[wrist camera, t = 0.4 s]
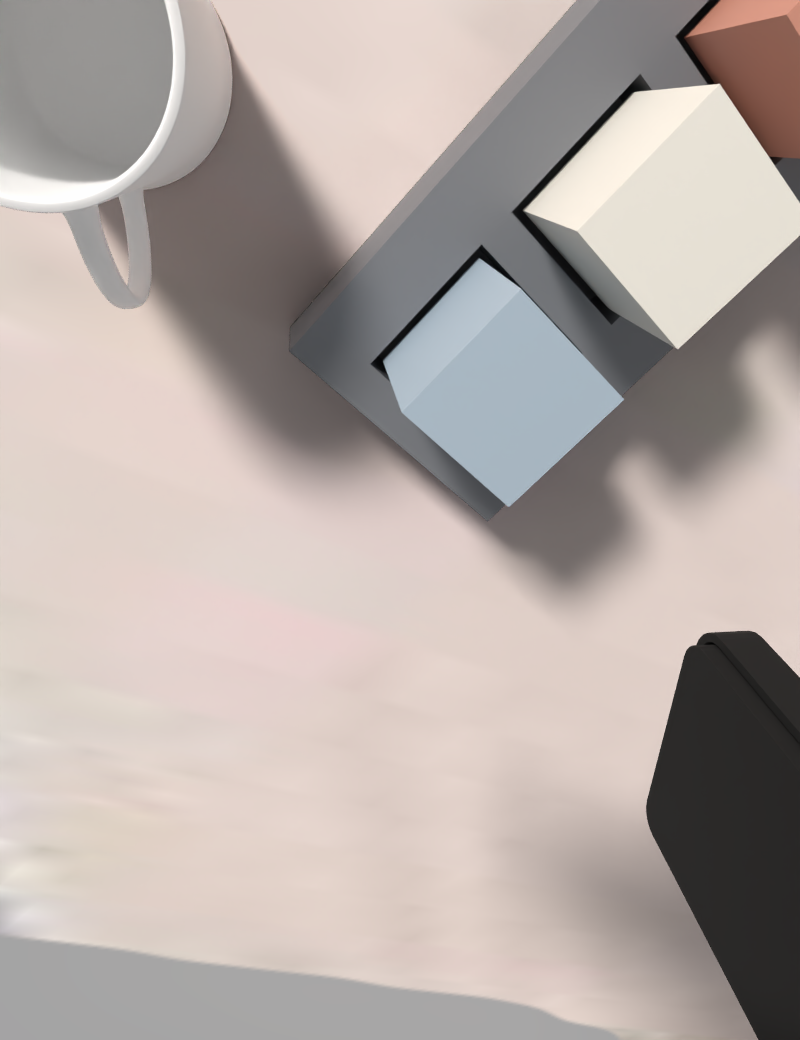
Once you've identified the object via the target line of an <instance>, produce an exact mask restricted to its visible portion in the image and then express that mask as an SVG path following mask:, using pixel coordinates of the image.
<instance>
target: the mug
mask: <svg viewBox="0 0 800 1040" xmlns="http://www.w3.org/2000/svg"><path fill="white" fill-rule="evenodd" d="M231 97H232V65H231V57H230V52H229V47H228V43H227V39H226V36H225V33H224V30H223V27H222V24H221V22H220V19H219V17H218V15H217V13H216V10H215V8H214V7H213V5H212V3H211V1H210V0H0V206H3V207H7V208H11V209H16V210H21V211H27V212H36V213H63V215H64V216H65V218H66V220H67V222H68V224H69V226H70V228H71V231H72V233H73V236H74V238H75V241H76V243H77V246H78V248H79V251H80V253H81V255H82V258H83V260H84V262H85V264H86V266H87V268H88V270H89V272H90V274H91V276H92V278H93V280H94V282H95V283H96V285H97V287H98V288H99V290H100V291H101V292H102V294H103V295H104V296H105V298H106V299H107V300H108V301H109V302H110V303H112V304H113V305H114V306H116V307H118V308H122V309H133V308H137V307H139V306H141V305H143V304H144V303H145V301H146V300H147V298H148V295H149V292H150V286H151V273H152V266H151V247H150V237H149V229H148V222H147V216H146V210H145V203H144V192H143V190H146V189H153V188H157V187H161V186H164V185H167V184H170V183H172V182H175V181H177V180H179V179H181V178H182V177H184V176H186V175H187V174H189V173H190V172H191V171H193V170H194V169H195V168H196V167H197V166H198V165H200V164H201V163H202V162H203V160H204V159H205V158H206V157H207V156H208V155H209V153H210V152H211V151H212V149H213V148H214V146H215V145H216V143H217V141H218V139H219V137H220V135H221V133H222V131H223V129H224V126H225V123H226V120H227V117H228V113H229V109H230V104H231ZM116 197H118V198H119V200H120V203H121V207H122V211H123V216H124V221H125V228H126V235H127V244H128V256H129V278H128V286H127V285H126V283H125V282H124V280H123V278H122V276H121V274H120V272H119V270H118V268H117V266H116V264H115V262H114V259H113V257H112V254H111V252H110V249H109V246H108V244H107V241H106V238H105V235H104V232H103V228H102V224H101V220H100V215H99V209H98V205H99V204H101V203H104V202H107V201H109V200H111V199H114V198H116Z"/></svg>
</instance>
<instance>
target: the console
mask: <svg viewBox="0 0 800 1040" xmlns="http://www.w3.org/2000/svg"><path fill="white" fill-rule="evenodd" d="M718 1H719V0H577V1H576V2H575V3H574V4H573V5H572V6H571V7H570V9H569V10H568V11H567V12H566V13H565V14H564V15H563V17H562V18H561V19H560V20H559V21H558V22H557V23H556V25H555V26H554V27H553V28H552V29H551V30H550V31H549V33H548V34H547V35H546V36H545V37H544V38H543V39H542V41H541V42H540V43H539V44H538V45H537V46H536V47H535V49H534V50H533V51H532V52H531V53H530V54H529V55H528V57H527V58H526V59H525V60H524V61H523V62H522V63H521V64H520V66H519V67H518V68H517V69H516V70H515V71H514V72H513V74H512V75H511V76H510V77H509V78H508V79H507V80H506V82H505V83H504V84H503V85H502V86H501V87H500V88H499V90H498V91H497V92H496V93H495V94H494V95H493V96H492V98H491V99H490V100H489V101H488V102H487V103H486V104H485V106H484V107H483V108H482V109H481V110H480V111H479V112H478V114H477V115H476V116H475V117H474V118H473V119H472V120H471V122H470V123H469V124H468V125H467V126H466V127H465V128H464V130H463V131H462V132H461V133H460V134H459V135H458V136H457V138H456V139H455V140H454V141H453V142H452V143H451V144H450V146H449V147H448V148H447V149H446V150H445V151H444V152H443V153H442V155H441V156H440V157H439V158H438V159H437V160H436V161H435V163H434V164H433V165H432V166H431V167H430V168H429V169H428V171H427V172H426V173H425V174H424V175H423V176H422V177H421V179H420V180H419V181H418V182H417V183H416V184H415V185H414V187H413V188H412V189H411V190H410V191H409V192H408V193H407V195H406V196H405V197H404V198H403V199H402V200H401V201H400V203H399V204H398V205H397V206H396V207H395V208H394V209H393V211H392V212H391V213H390V214H389V215H388V216H387V217H386V219H385V220H384V221H383V222H382V223H381V224H380V225H379V227H378V228H377V229H376V230H375V231H374V232H373V233H372V235H371V236H370V237H369V238H368V239H367V240H366V241H365V243H364V244H363V245H362V246H361V247H360V248H359V249H358V250H357V252H356V253H355V254H354V255H353V256H352V257H351V258H350V260H349V261H348V262H347V263H346V264H345V265H344V266H343V268H342V269H341V270H340V271H339V272H338V273H337V274H336V276H335V277H334V278H333V279H332V280H331V281H330V282H329V284H328V285H327V286H326V287H325V288H324V289H323V290H322V292H321V293H320V294H319V295H318V296H317V297H316V298H315V300H314V301H313V302H312V303H311V304H310V305H309V306H308V308H307V309H306V310H305V311H304V312H303V313H302V314H301V316H300V317H299V318H298V319H297V320H296V321H295V322H294V324H293V325H292V326H291V327H290V342H289V351H290V352H291V353H292V354H293V355H294V356H295V357H297V358H298V359H299V360H300V361H301V362H302V363H304V364H305V365H306V366H307V367H308V368H309V369H311V370H312V371H313V372H314V373H315V374H316V375H318V376H319V377H320V378H321V379H322V380H323V381H325V382H326V383H327V384H328V385H329V386H330V387H332V388H333V389H334V390H335V391H336V392H337V393H339V394H340V395H341V396H342V397H343V398H344V399H346V400H347V401H348V402H349V403H350V404H351V405H353V406H354V407H355V408H356V409H357V410H358V411H360V412H361V413H362V414H363V415H364V416H365V417H367V418H368V419H369V420H370V421H371V422H372V423H374V424H375V425H376V426H377V427H378V428H379V429H381V430H382V431H383V432H384V433H385V434H386V435H387V436H389V437H390V438H391V439H392V440H393V441H394V442H396V443H397V444H398V445H399V446H400V447H401V448H403V449H404V450H405V451H406V452H407V453H408V454H410V455H411V456H412V457H413V458H414V459H415V460H417V461H418V462H419V463H420V464H421V465H422V466H424V467H425V468H426V469H427V470H428V471H429V472H431V473H432V474H433V475H434V476H435V477H436V478H438V479H439V480H440V481H441V482H442V483H443V484H445V485H446V486H447V487H448V488H449V489H450V490H452V491H453V492H454V493H455V494H456V495H457V496H459V497H460V498H461V499H462V500H463V501H464V502H466V503H467V504H468V505H469V506H470V507H471V508H473V509H474V510H475V511H476V512H477V513H478V514H480V515H481V516H482V517H483V518H484V519H485V520H487V521H489V520H490V519H491V518H492V517H493V516H494V515H495V514H496V513H497V512H498V511H499V510H500V509H501V508H503V507H504V506H505V505H506V504H505V503H503V502H502V501H501V500H500V499H499V498H498V497H497V496H495V495H494V494H493V493H492V492H491V491H490V490H489V489H488V488H486V487H485V486H484V485H483V484H482V483H481V482H480V481H479V480H477V479H476V478H475V477H474V476H473V475H472V474H471V473H469V472H468V471H467V470H466V469H465V468H464V467H463V466H462V465H460V464H459V463H458V462H457V461H456V460H455V459H454V458H453V457H451V456H450V455H449V454H448V453H447V452H446V451H445V450H443V449H442V448H441V447H440V446H439V445H438V444H437V443H436V442H434V441H433V440H432V439H431V438H430V437H429V436H428V435H427V434H425V433H424V432H423V431H422V430H421V429H420V428H419V427H417V426H416V425H415V424H414V423H413V422H412V421H411V420H410V419H408V418H407V417H406V416H405V415H404V414H403V413H402V412H401V409H400V407H399V404H398V401H397V398H396V396H395V393H394V390H393V387H392V385H391V382H390V379H389V376H388V374H387V371H386V368H385V365H384V363H383V359H384V358H385V357H386V356H387V355H388V354H389V353H390V352H391V351H392V349H393V348H394V347H395V346H396V345H397V344H398V343H399V342H400V341H401V340H402V339H403V338H404V337H405V336H406V335H407V333H408V332H409V331H410V330H411V329H412V328H413V327H414V326H415V325H416V324H417V323H418V322H419V321H420V320H421V318H422V317H423V316H424V315H425V314H426V313H427V312H428V311H429V310H430V309H431V308H432V307H433V306H434V305H435V303H436V302H437V301H438V300H439V299H440V298H441V297H442V296H443V295H444V294H445V293H446V292H447V291H448V290H449V288H450V287H451V286H452V285H453V284H454V283H455V282H456V281H457V280H458V279H459V278H460V277H461V276H462V275H463V273H464V272H465V271H466V270H467V269H468V268H469V267H470V266H471V265H472V264H473V263H474V262H475V261H476V260H477V259H478V258H480V259H481V260H483V261H484V262H485V263H487V264H488V265H489V266H491V267H492V268H493V269H495V270H496V271H498V272H499V273H500V274H502V275H503V276H504V277H506V278H507V279H508V280H510V281H511V282H513V283H514V284H515V285H517V286H518V287H519V288H521V289H522V290H523V291H524V292H525V293H526V295H527V296H528V297H529V298H530V299H531V300H532V301H533V302H534V303H535V304H536V305H537V306H538V307H539V308H540V310H541V311H542V312H543V313H544V314H545V315H546V316H547V317H548V318H549V319H550V320H551V321H552V322H553V324H554V325H555V326H556V327H557V328H558V329H559V330H560V331H561V332H562V333H563V334H564V335H565V336H566V337H567V339H568V340H569V341H570V342H571V343H572V344H573V345H574V346H575V347H576V348H577V349H578V350H579V351H580V353H581V354H582V355H583V356H584V357H585V358H586V359H587V360H588V361H589V362H590V363H591V364H592V365H593V366H594V368H595V369H596V370H597V371H598V372H599V373H600V374H601V375H602V376H603V377H604V378H605V379H606V380H607V382H608V383H609V384H610V385H611V386H612V387H613V388H614V389H615V390H616V391H617V392H618V393H619V394H620V395H621V396H622V395H623V394H624V393H625V392H626V391H627V390H628V389H629V388H631V387H632V386H633V385H634V384H635V383H636V382H637V381H638V380H639V379H640V378H641V377H642V376H643V375H644V374H645V373H647V372H648V371H649V370H650V369H651V368H652V367H653V366H654V365H655V364H656V363H657V362H658V361H659V360H660V359H661V358H663V357H664V356H665V355H666V354H667V353H668V352H669V351H670V350H671V349H672V348H673V346H671V345H669V344H668V343H666V342H664V341H662V340H661V339H659V338H657V337H656V336H654V335H652V334H651V333H649V332H647V331H646V330H644V329H642V328H640V327H639V326H637V325H635V324H634V323H632V322H630V321H629V320H627V319H625V318H624V317H622V316H620V315H618V314H617V313H615V312H613V311H612V310H610V309H609V308H608V307H607V306H606V305H605V304H604V303H603V302H602V301H601V299H600V298H599V297H598V296H597V295H596V294H595V293H594V291H593V290H592V289H591V288H590V287H589V286H588V285H587V283H586V282H585V281H584V280H583V279H582V278H581V277H580V275H579V274H578V273H577V272H576V271H575V270H574V269H573V267H572V266H571V265H570V264H569V263H568V262H567V261H566V259H565V258H564V257H563V256H562V255H561V254H560V253H559V251H558V250H557V249H556V248H555V247H554V246H553V245H552V244H551V242H550V241H549V240H548V239H547V238H546V237H545V236H544V234H543V233H542V232H541V231H540V230H539V229H538V228H537V226H536V225H535V224H534V223H533V222H532V221H531V220H530V218H529V217H528V216H527V215H526V214H525V213H524V212H523V209H524V208H525V207H526V206H527V205H528V204H529V203H530V202H531V201H532V200H533V199H534V198H535V196H536V195H537V194H538V193H539V192H540V191H541V190H542V189H543V188H544V187H545V186H546V185H547V184H548V183H549V181H550V180H551V179H552V178H553V177H554V176H555V175H556V174H557V173H558V172H559V171H560V170H561V169H562V168H563V166H564V165H565V164H566V163H567V162H568V161H569V160H570V159H571V158H572V157H573V156H574V155H575V154H576V153H577V151H578V150H579V149H580V148H581V147H582V146H583V145H584V144H585V143H586V142H587V141H588V140H589V139H590V138H591V136H592V135H593V134H594V133H595V132H596V131H597V130H598V129H599V128H600V127H601V126H602V125H603V124H604V123H605V122H606V120H607V119H608V118H609V117H610V116H611V115H612V114H613V113H614V112H615V111H616V110H617V109H618V108H619V107H620V105H621V104H622V103H623V102H624V101H625V100H626V99H627V98H628V97H629V96H630V95H631V94H632V93H633V92H640V91H650V90H661V89H671V88H682V87H692V86H703V85H713V84H715V83H714V81H713V80H712V79H711V77H710V76H709V74H708V73H707V71H706V70H705V68H704V67H703V65H702V64H701V62H700V61H699V59H698V58H697V56H696V55H695V53H694V52H693V50H692V49H691V47H690V46H689V44H688V43H687V42H686V40H685V39H684V37H685V36H686V35H687V34H688V33H689V32H690V31H691V29H692V28H693V27H694V26H695V25H696V24H697V23H698V22H699V21H700V20H701V19H702V18H703V17H704V16H705V14H706V13H707V12H708V11H709V10H710V9H711V8H712V7H713V6H714V5H715V4H716V3H717V2H718ZM769 158H770V159H771V161H772V162H773V164H774V165H775V167H776V168H777V170H778V171H779V173H780V174H781V176H782V177H783V179H784V180H785V182H786V183H787V185H788V186H789V188H790V189H791V191H792V192H793V194H794V195H795V197H796V198H797V200H798V201H799V203H800V159H798V158H783V157H769Z"/></svg>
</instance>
